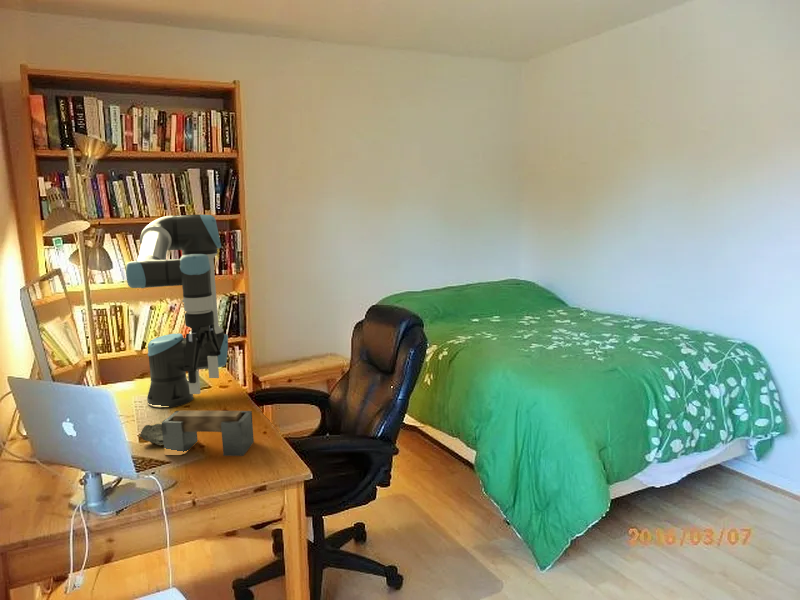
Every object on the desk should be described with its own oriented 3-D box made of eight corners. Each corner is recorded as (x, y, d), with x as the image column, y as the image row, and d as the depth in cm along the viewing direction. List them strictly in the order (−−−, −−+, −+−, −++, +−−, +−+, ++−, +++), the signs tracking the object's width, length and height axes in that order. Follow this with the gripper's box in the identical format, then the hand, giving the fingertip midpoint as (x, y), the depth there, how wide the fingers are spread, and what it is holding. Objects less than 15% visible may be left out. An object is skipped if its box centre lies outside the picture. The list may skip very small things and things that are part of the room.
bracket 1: (179, 441, 178) (176, 410, 177) (197, 441, 178) (195, 410, 176) (164, 455, 169) (161, 422, 167) (184, 455, 169) (181, 422, 167)
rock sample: (159, 439, 170) (152, 414, 175) (142, 455, 172) (135, 429, 176) (188, 443, 178) (181, 418, 183) (171, 457, 180) (164, 432, 185)
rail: (174, 431, 170) (172, 416, 169) (181, 425, 174) (179, 410, 174) (237, 431, 169) (235, 416, 168) (242, 425, 173) (241, 410, 172)
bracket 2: (235, 442, 177) (232, 410, 175) (253, 442, 176) (251, 411, 175) (223, 455, 168) (220, 423, 166) (243, 455, 167) (240, 423, 166)
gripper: (203, 302, 178) (209, 371, 182) (164, 321, 154) (172, 400, 158) (228, 302, 178) (233, 371, 182) (193, 321, 153) (200, 401, 157)
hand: (205, 385), depth 170 cm, fingers open, 13 cm apart
